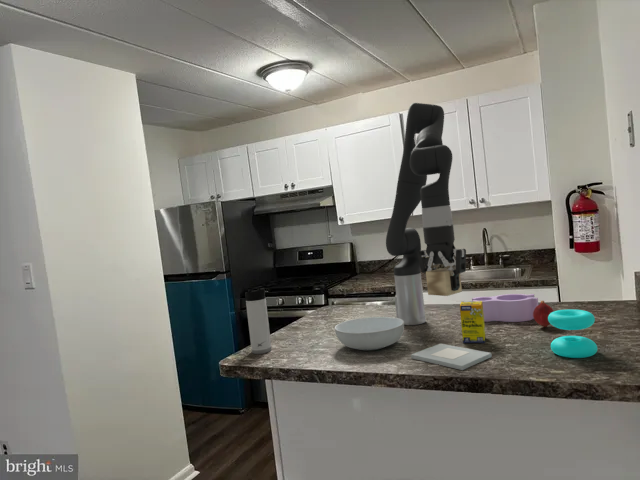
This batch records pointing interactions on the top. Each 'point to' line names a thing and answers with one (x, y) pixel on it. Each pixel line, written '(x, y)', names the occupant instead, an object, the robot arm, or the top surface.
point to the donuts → (572, 344)
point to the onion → (542, 314)
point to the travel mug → (258, 321)
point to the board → (451, 356)
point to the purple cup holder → (508, 307)
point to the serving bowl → (369, 332)
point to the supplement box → (472, 322)
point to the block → (440, 282)
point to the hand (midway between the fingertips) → (444, 289)
